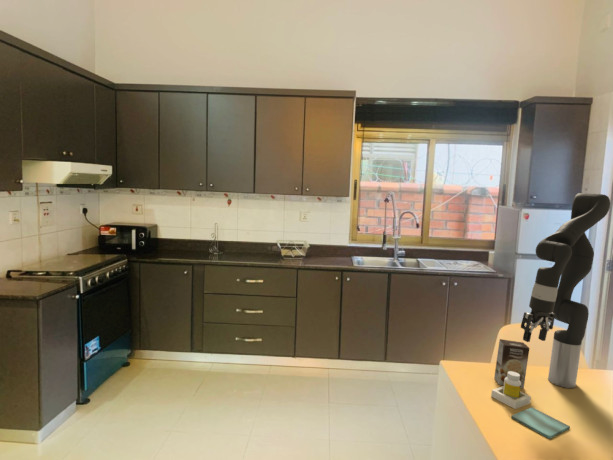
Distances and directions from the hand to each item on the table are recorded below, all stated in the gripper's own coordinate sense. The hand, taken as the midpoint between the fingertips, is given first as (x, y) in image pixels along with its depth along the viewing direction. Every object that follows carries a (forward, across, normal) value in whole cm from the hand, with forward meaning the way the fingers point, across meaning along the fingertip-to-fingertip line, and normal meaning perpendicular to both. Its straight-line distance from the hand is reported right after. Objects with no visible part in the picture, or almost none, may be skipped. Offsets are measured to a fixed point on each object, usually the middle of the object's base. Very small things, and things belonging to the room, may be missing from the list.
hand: (534, 340), depth 140 cm
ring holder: (+22, -7, -1) cm, 23 cm away
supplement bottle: (+22, -7, -1) cm, 23 cm away
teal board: (+21, -11, -14) cm, 28 cm away
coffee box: (+22, +4, +9) cm, 24 cm away
